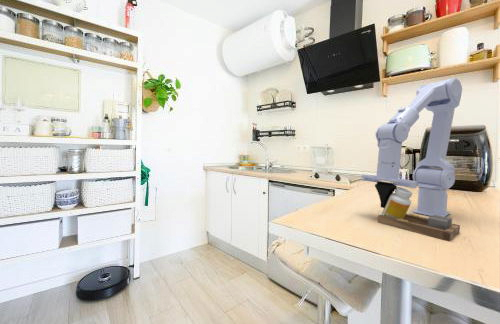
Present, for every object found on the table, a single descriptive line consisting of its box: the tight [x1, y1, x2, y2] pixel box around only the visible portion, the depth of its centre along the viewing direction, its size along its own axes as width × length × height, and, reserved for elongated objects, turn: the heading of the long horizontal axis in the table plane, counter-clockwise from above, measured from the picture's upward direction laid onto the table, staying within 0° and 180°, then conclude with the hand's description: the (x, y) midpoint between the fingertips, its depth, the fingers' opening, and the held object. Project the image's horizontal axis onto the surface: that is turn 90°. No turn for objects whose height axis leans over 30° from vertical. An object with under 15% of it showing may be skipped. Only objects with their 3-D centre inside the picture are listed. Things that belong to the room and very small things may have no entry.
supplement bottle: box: [381, 186, 413, 219], centre depth 64 cm, size 5×5×10 cm
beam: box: [377, 213, 461, 242], centre depth 60 cm, size 9×16×4 cm, turn 36°
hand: (384, 207), depth 66 cm, fingers closed, pressing on supplement bottle
